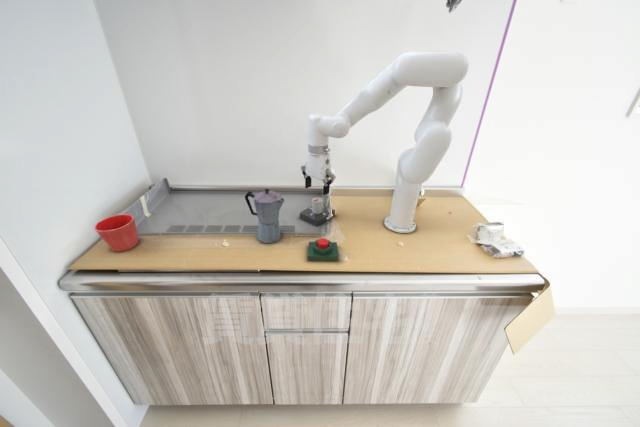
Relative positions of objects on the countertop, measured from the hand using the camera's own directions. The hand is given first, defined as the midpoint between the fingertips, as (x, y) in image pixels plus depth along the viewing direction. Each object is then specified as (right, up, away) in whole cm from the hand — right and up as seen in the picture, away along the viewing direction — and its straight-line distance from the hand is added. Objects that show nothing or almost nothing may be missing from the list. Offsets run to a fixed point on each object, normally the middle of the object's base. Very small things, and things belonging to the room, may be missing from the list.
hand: (316, 190), depth 99 cm
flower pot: (-68, -21, -13) cm, 73 cm away
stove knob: (0, -8, +5) cm, 10 cm away
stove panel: (0, -11, +6) cm, 13 cm away
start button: (+2, -20, -18) cm, 27 cm away
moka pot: (-18, -19, -8) cm, 27 cm away
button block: (+2, -24, -16) cm, 29 cm away
